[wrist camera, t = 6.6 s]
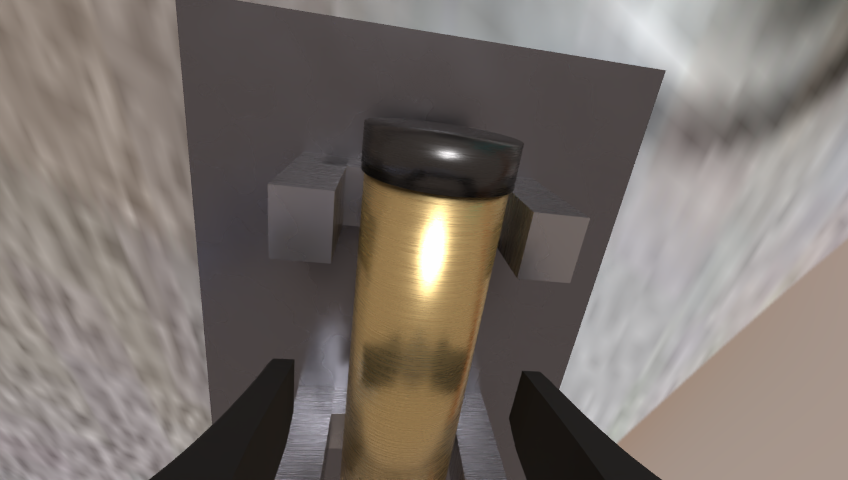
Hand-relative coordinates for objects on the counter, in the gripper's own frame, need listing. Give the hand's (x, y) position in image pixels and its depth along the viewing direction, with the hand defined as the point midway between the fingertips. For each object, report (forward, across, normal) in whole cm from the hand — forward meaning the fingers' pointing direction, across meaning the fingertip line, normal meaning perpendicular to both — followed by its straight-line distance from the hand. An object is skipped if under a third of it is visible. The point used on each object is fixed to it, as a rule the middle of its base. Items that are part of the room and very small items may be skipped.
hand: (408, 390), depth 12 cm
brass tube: (+3, 0, 0) cm, 3 cm away
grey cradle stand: (+6, 0, 0) cm, 6 cm away
